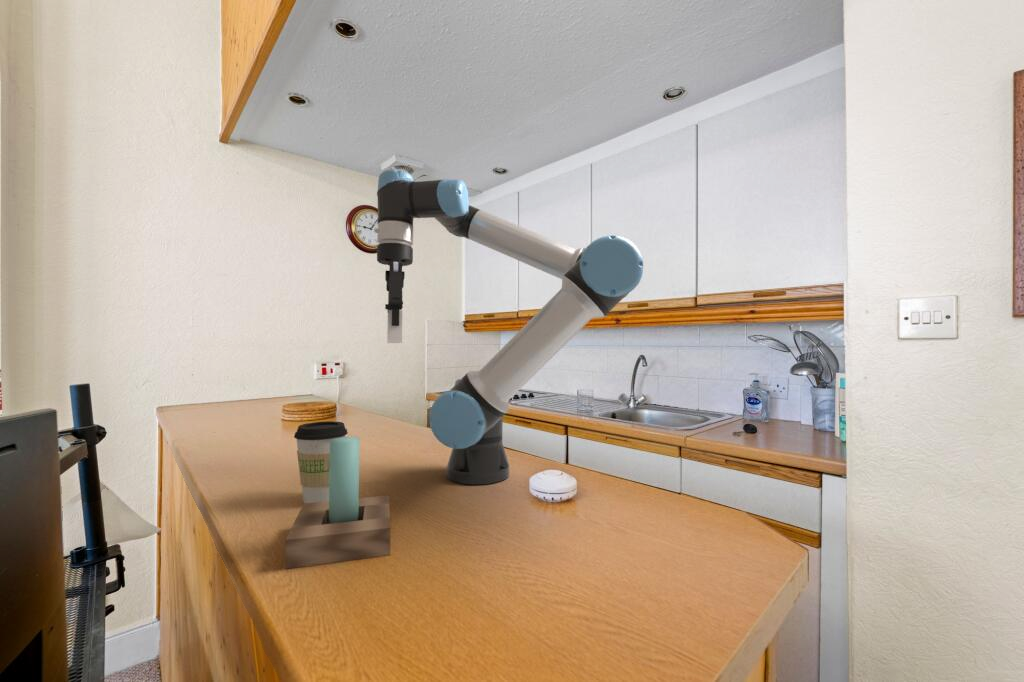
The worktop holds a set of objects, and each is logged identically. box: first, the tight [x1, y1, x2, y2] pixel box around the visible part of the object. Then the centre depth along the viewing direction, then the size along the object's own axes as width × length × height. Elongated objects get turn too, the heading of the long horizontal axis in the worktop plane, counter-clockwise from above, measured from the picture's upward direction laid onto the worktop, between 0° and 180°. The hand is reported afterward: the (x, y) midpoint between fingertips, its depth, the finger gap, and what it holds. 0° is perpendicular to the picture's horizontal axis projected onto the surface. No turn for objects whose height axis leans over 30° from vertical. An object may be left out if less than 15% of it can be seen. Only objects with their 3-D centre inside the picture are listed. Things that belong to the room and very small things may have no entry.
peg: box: [329, 436, 360, 524], centre depth 67 cm, size 4×4×16 cm
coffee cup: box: [293, 420, 348, 504], centre depth 84 cm, size 10×10×15 cm
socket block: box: [284, 495, 391, 570], centre depth 67 cm, size 14×14×4 cm
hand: (394, 343), depth 90 cm, fingers open, 13 cm apart
